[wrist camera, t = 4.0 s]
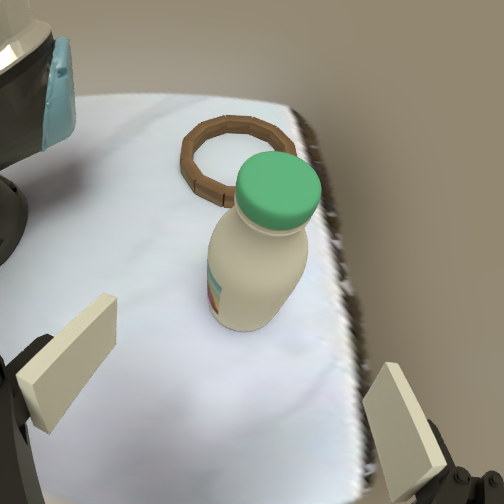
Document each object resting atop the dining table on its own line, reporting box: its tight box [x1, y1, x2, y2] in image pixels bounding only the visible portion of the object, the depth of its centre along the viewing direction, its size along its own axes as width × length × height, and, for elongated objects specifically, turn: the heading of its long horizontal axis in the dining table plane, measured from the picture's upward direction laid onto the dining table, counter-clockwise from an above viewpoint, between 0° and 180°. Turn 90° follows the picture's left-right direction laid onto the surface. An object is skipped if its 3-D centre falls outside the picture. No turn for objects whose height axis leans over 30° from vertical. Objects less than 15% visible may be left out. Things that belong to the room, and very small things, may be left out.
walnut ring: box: [180, 115, 297, 208], centre depth 41 cm, size 16×16×2 cm
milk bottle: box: [207, 151, 321, 332], centre depth 24 cm, size 8×8×20 cm
